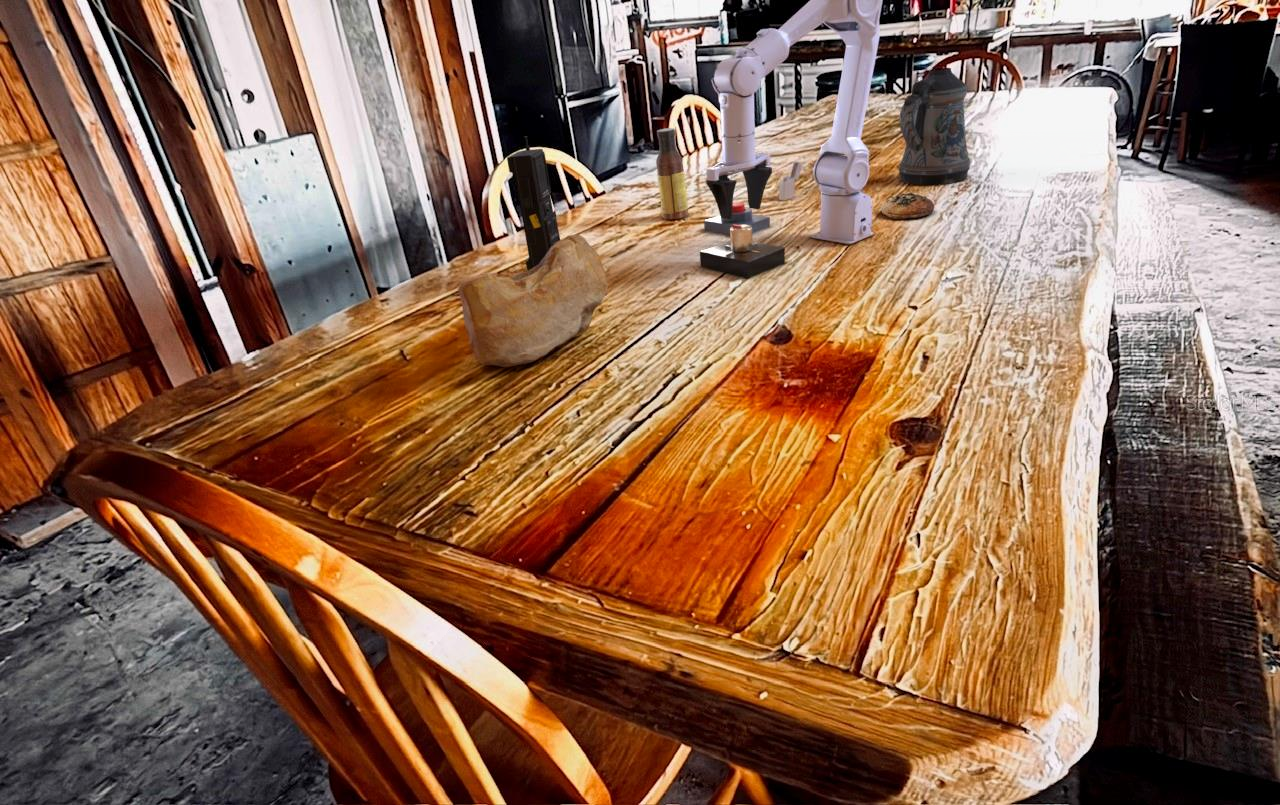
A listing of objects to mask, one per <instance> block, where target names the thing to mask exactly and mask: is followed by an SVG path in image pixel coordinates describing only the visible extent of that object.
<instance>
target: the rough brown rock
mask: <svg viewBox="0 0 1280 805" xmlns="http://www.w3.org/2000/svg"><path fill="white" fill-rule="evenodd" d="M457 291H458V294H459V298H460V302H461V307H462V316H463V322H464V327H465V330H466V332H467V336H468V339H469V344H470V345H471V348H472V351H473V355H474V357H475V359H476V360H477V361H478V362H479V363H480V364H481V365H483V366H497V367H503V368H511V367H515V366H518V365H524V364H530V363H533V362H535V361H537V360H539V359H541V358H542V357H545V356H546V355H547V354H548V353H550V352H551V351H553V350H554V349H555V348H557V347H559V346H561V345H563V344H565V343H567V342H568V341H569V340H570V339H572V338H575V337H579V336H582V335H583V334H585V333H586V332H587V331H588V330H589V328H590V326H591V323H592V320H593V316H594V312H595V310H596V309H597V308H598V307H599V306H600V305H602V303H603V301H604V298H605V297H606V296H607V295H608V291H609V283H608V281H607V274H606V271H605V268H604V266H603V263H602V260H601V256H600V255H599V253H598V252H597V250H596V249H595V248H594V247H593V246H592V245H590V244H589V242H588V241H587V239H586V238H585V237H584V236H582V235H580V234H569V235H567V236H565V237H563V238H562V239H561V238H560V241H558V242H556V243H555V244H554V245H553V246H552V247H551V248H550V249H549V251H548V252H547V254H546V255H545V257H544V258H543V259H542V260H541V262H540V263H539V264H538V265H537V266H535V267H534V268H532V269H530V270H528V271H527V270H526V271H522V272H519V273H515V274H513V275H512V276H509V277H502V276H499V275H495V274H493V273H485V274H480V275H475V276H472V277H468V278H466V279H463V280H462V281H461V282H460V283H459V285H458V288H457Z"/></svg>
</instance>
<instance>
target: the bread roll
mask: <svg viewBox="0 0 1280 805" xmlns="http://www.w3.org/2000/svg"><path fill="white" fill-rule="evenodd" d="M880 210H881V212H882V215H885V216H887V217H888V218H891V219H895V220H902V221H903V220H906V219H909V218H912V219H913V218H916V219H917V218H920V217H925V216H929V215H931V214H932V213H933V212H934V211H935V203H934V202H933V201H932V200H931V199H930V198H928V197H926V195H919V194H917V193H916V194H915V193H913V192H907V193H901V194H899V195H893V196H891V197H890V198H888V199H886V200H885V201H884V202H883V203H882V205H881V206H880Z"/></svg>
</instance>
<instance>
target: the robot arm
mask: <svg viewBox="0 0 1280 805" xmlns="http://www.w3.org/2000/svg"><path fill="white" fill-rule="evenodd" d="M882 5H883V0H809V1H808V2H807V3H806V4H804V6H802V7H801V8H800V9H799V10H798V11H797V12H796V13H795V14H793V15H792V16H791V17H790V18H789V19H787V20H786V22H785V23H783V25H781V26H780V27H779V28H778V29H776V28H772V27H769V28H762V29H760V30H759V31H757V32H756V38H754V39H753V40H751V42H749V43H748V44H747V45H746V46H745V47H739V48H738V49H736V52H735V53H736V54H735V55H734V57H731V58H725V59H723V60H722V61H720V62H719V63H718V65H717V66H716V69H715V71H714V77H712V78H711V84H712V87H713V89H714V91H715V93H717V96H718V104H719V108H720V133H721V134H720V135H721V154H722V159H720V160H719V163H717V164H715V165H712V166H711V167H708V168H706V169H705V171H706V173H705V174H706V179H705V183H706V184H705V185H706V186H707V187H708V189H709V190H710V191H711V194H712V196H713V198H714V200H715V203H716V206H717V208H718V212H719V215H720V216H721V218H724V219H731V218H732V213H733V203H734V202H733V201H734V195H735V190H736V185H737V183H738V182H737V180H735V179H731V178H730V176H732V175H736V174H739V173H742V174H743V178H744V180H745V184H746V193H747V204H748V207H749V208H751V209H752V210H760V209H761V205H762V201H763V196H764V193H765V190H766V186H767V183H768V182H769V179H770V177H771V175H772V173H773V168H772V167H771V166H769V165H771V153H768V152H767V153H766V152H761V153H756V128H755V127H756V126H755V125H756V124H755V93H756V92H758V90H759V88H760V86H761V82H762V80H763V78H766V76H767V75H769V74H770V73H771V72H772V71H773V70H774V69H777V67H778V66H779V65H781V64H782V63H783V62H784V61H786V60H787V59H788V58H789V55H790V54H789V53H790V47H791V46H793V45H794V44H796V43H797V42H799V41H800V40H802V39H803V38H805V36H807V35H808V34H809V33H810V32H813V31H814V30H815V29H817V28H818V27H819V26H821V25H822V24H824V25H825V26H826V27H828V28H829V29H830V30H832V31H833V32H834V33H835V34H837V35H838V36H839V37H840V38H841V40H842V41H843V42H844V44H845V51H844V58H843V64H842V70H841V77H840V81H839V87H838V93H837V99H836V106H835V111H834V117H833V123H832V129H831V136H830V137H829V138H828V139H827V140H826V141H825V142H824V143H823V144H822V145H821V146H820V150H819V154H818V157H817V159H816V161H814V165H813V168H812V177H813V179H814V182H815V183H816V184H817V185H818V190H819V191H820V220H819V221H820V222H819V224H820V225H819V231H817V232H816V233H812V234H811V235H810V238H813V239H815V240H816V239H817V240H823V241H828V242H834V243H838V244H845V245H852V244H854V243H857V242H860V241H861V240H864V239H866V238H869V237H872V236H873V235H874V232H873V231H872V225H873V224H872V223H873V205H874V204H873V199H872V197H871V196H870V195H869V194H866V193H863V188H864V187H865V186H866V185H867V182H868V180H869V178H870V164H869V159H870V154H871V153H870V150H869V148H867V146H866V144H865V143H864V142H863V141H862V135H863V129H864V125H865V124H864V123H865V119H866V112H867V108H868V102H869V97H870V91H871V85H872V79H873V74H874V69H875V64H876V58H877V54H878V46H879V42H880V36H881V30H880V29H881V28H880V27H881V26H880V17H881V12H882V7H883V6H882ZM841 154H843V155H841Z"/></svg>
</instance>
